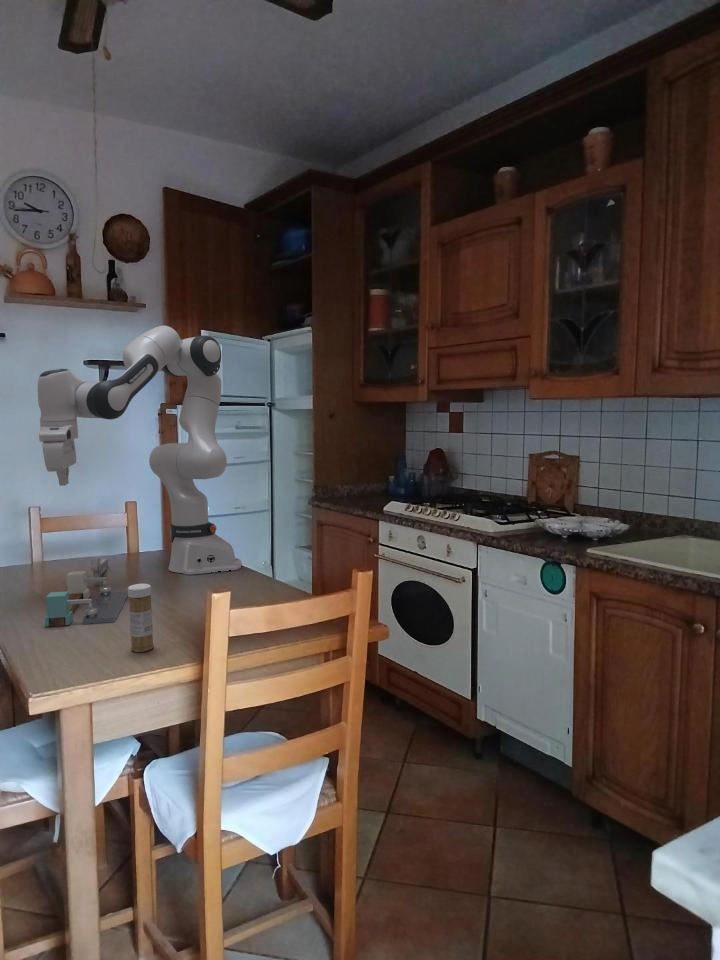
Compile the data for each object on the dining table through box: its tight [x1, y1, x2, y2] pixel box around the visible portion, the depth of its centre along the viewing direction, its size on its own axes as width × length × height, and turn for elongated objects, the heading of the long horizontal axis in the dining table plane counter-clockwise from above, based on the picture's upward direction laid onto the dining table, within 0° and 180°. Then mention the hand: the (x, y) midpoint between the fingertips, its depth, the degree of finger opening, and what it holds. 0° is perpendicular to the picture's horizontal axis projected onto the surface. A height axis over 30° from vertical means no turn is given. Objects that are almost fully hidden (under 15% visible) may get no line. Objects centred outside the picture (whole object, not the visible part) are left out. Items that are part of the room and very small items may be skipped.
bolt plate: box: [82, 586, 129, 625], centre depth 170 cm, size 7×24×3 cm, turn 11°
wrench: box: [90, 558, 109, 587], centre depth 202 cm, size 8×2×30 cm
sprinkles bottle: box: [127, 583, 154, 653], centre depth 140 cm, size 5×5×13 cm
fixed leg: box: [66, 570, 108, 599], centre depth 179 cm, size 10×4×7 cm, turn 101°
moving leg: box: [44, 590, 93, 627], centre depth 159 cm, size 10×4×7 cm, turn 101°
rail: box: [50, 593, 83, 627], centre depth 168 cm, size 3×24×2 cm, turn 11°
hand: (64, 485), depth 179 cm, fingers closed
